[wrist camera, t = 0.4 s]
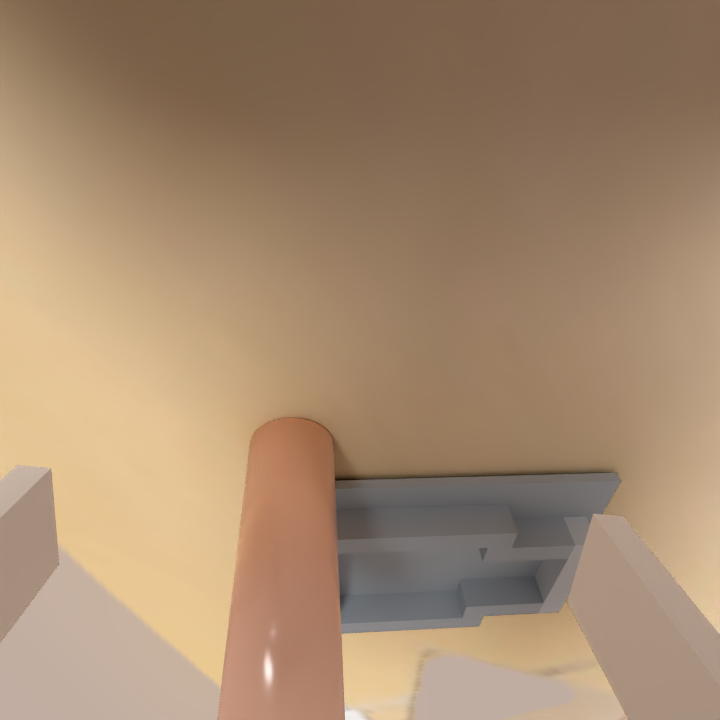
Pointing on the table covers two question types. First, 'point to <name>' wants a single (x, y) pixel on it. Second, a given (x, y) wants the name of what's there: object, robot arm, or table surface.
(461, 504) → the keyhole board
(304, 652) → the tall peach cylinder
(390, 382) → the table surface
